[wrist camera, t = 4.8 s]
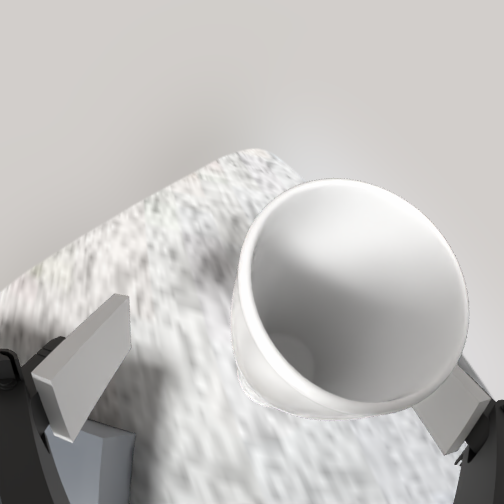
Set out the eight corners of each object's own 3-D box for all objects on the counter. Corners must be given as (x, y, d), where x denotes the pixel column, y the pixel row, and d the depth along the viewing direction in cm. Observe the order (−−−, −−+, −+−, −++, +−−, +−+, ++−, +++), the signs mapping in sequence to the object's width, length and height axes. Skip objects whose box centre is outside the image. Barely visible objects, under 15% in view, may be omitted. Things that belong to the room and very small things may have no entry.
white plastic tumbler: (331, 344, 21) (466, 224, 8) (304, 429, 17) (461, 435, 4) (246, 313, 21) (284, 146, 9) (210, 398, 18) (181, 359, 5)
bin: (135, 433, 16) (103, 438, 11) (129, 591, 7) (108, 624, 2) (-18, 368, 15) (-62, 348, 10) (-22, 510, 7) (-61, 513, 2)
